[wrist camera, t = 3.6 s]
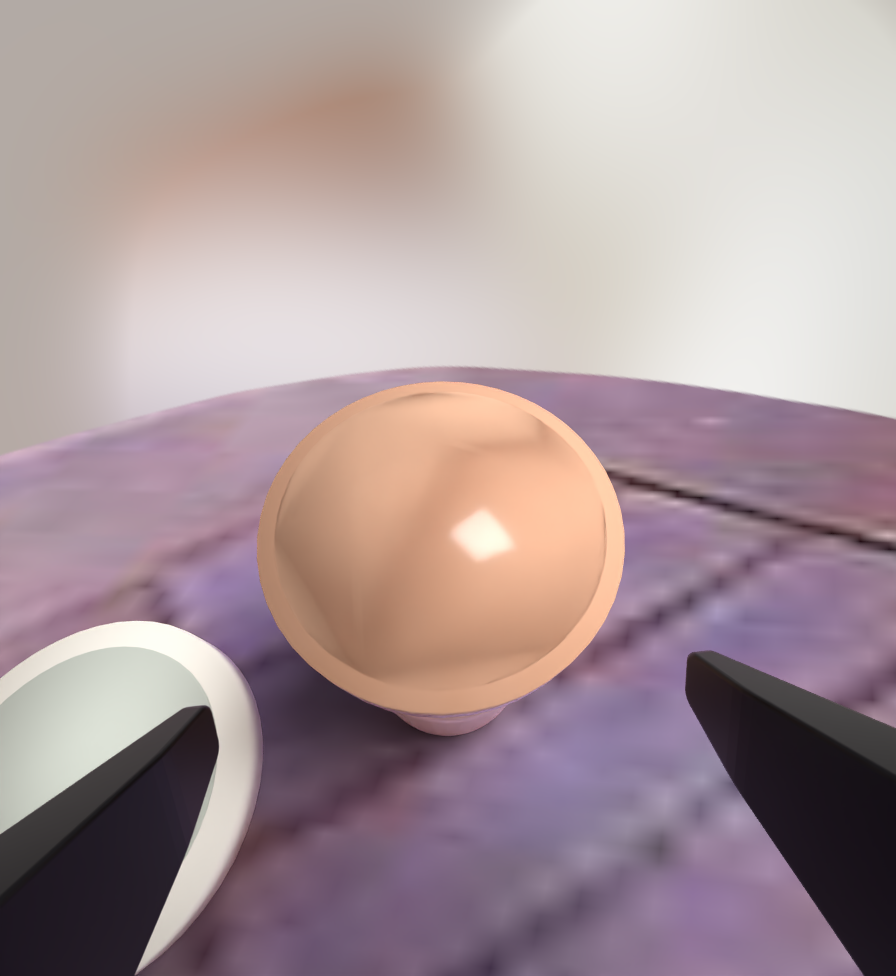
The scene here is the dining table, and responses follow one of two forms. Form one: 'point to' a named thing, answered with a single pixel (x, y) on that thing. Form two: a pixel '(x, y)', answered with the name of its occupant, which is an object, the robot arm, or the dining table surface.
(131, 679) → the round white dish
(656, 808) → the dining table surface
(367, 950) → the dining table surface
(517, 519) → the peach domed cylinder
